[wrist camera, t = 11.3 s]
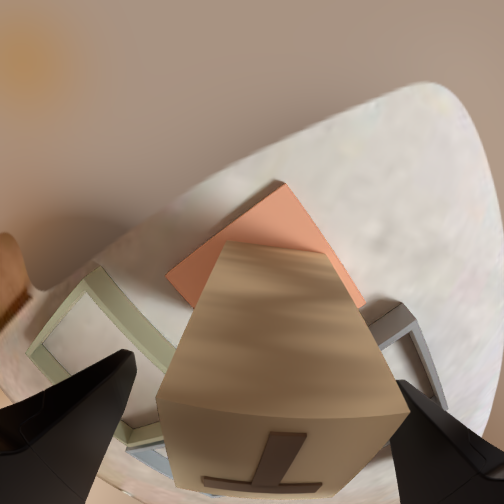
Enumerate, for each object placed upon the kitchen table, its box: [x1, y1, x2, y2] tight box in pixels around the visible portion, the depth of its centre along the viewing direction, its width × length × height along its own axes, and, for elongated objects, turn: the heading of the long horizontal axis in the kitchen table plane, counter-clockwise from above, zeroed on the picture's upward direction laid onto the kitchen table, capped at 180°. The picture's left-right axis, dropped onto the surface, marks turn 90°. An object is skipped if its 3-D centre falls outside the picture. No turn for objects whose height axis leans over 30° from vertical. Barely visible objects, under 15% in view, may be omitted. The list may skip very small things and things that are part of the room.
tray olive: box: [25, 266, 176, 447], centre depth 17 cm, size 13×13×2 cm
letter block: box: [156, 240, 410, 500], centre depth 10 cm, size 5×5×10 cm
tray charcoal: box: [368, 303, 448, 449], centre depth 17 cm, size 13×13×2 cm
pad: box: [165, 183, 366, 309], centre depth 15 cm, size 8×8×1 cm
